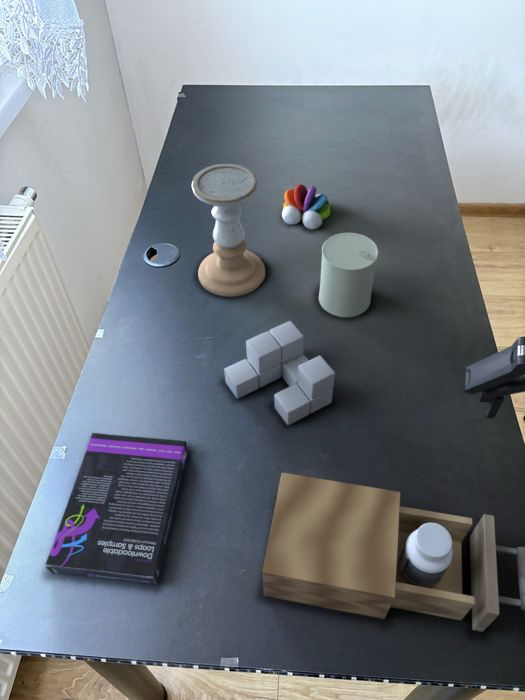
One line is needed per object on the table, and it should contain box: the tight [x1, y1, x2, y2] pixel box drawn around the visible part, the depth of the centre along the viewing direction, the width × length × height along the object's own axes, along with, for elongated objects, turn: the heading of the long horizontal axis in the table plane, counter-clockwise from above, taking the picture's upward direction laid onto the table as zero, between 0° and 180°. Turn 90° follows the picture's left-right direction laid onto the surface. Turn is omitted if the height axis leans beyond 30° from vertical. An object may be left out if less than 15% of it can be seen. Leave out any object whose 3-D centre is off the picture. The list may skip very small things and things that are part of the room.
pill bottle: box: [399, 523, 453, 588], centre depth 69 cm, size 5×5×9 cm
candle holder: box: [191, 163, 266, 298], centre depth 102 cm, size 12×12×20 cm
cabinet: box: [262, 472, 401, 620], centre depth 73 cm, size 15×13×9 cm
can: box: [318, 232, 379, 318], centre depth 100 cm, size 9×9×12 cm
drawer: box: [390, 505, 525, 633], centre depth 71 cm, size 18×11×7 cm, turn 79°
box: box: [44, 432, 189, 586], centre depth 80 cm, size 14×4×20 cm
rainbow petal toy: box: [281, 183, 331, 230], centre depth 117 cm, size 8×10×7 cm
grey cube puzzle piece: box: [223, 320, 336, 426], centre depth 89 cm, size 12×12×8 cm
